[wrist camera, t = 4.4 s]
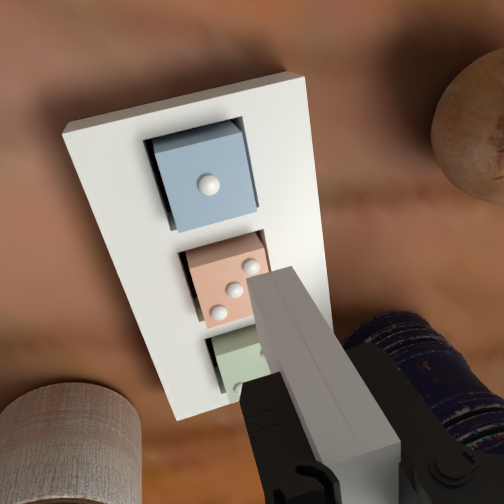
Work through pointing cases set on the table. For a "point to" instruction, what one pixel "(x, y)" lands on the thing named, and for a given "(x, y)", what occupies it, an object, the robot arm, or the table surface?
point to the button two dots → (239, 359)
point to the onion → (473, 129)
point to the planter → (70, 447)
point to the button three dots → (226, 276)
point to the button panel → (172, 243)
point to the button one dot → (205, 175)
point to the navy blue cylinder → (438, 378)
